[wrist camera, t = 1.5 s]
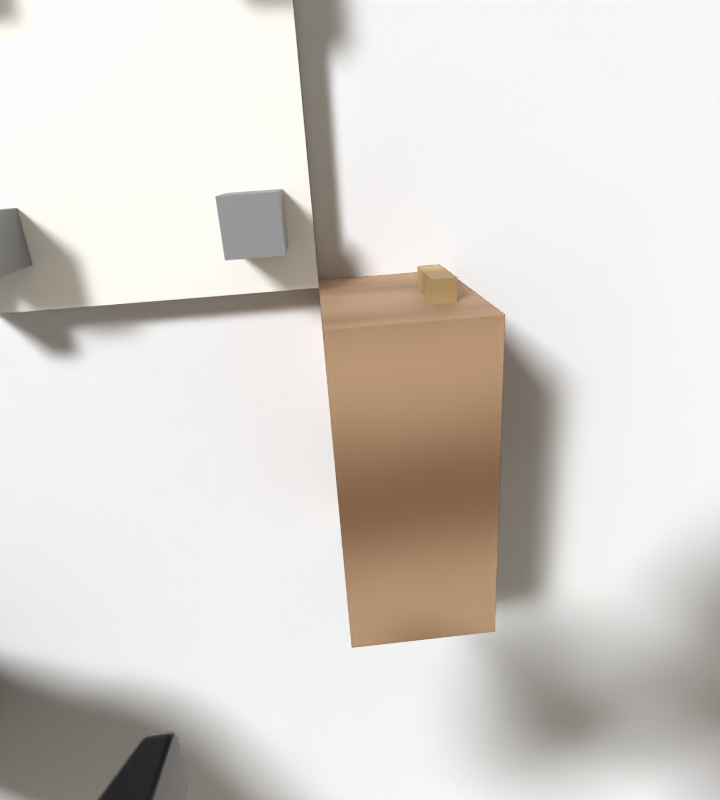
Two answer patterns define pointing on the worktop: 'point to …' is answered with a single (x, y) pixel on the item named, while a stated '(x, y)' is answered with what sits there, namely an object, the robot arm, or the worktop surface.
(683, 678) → the worktop surface
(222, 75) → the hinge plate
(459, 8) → the worktop surface
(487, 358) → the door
